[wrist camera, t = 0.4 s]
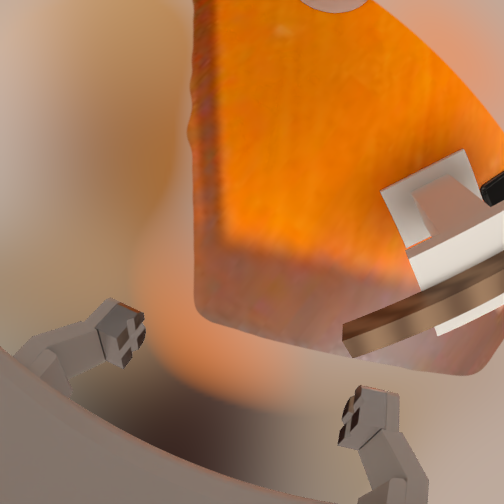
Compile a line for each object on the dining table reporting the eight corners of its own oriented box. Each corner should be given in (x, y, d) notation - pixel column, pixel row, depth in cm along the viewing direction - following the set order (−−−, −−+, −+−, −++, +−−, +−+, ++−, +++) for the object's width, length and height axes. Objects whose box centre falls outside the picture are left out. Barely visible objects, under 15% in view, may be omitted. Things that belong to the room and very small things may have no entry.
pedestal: (405, 245, 56) (437, 336, 34) (379, 190, 53) (408, 259, 31) (483, 206, 48) (552, 275, 26) (462, 148, 45) (540, 189, 23)
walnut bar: (352, 341, 37) (352, 358, 34) (342, 324, 36) (342, 341, 33) (538, 253, 26) (550, 265, 23) (535, 231, 25) (548, 243, 22)
